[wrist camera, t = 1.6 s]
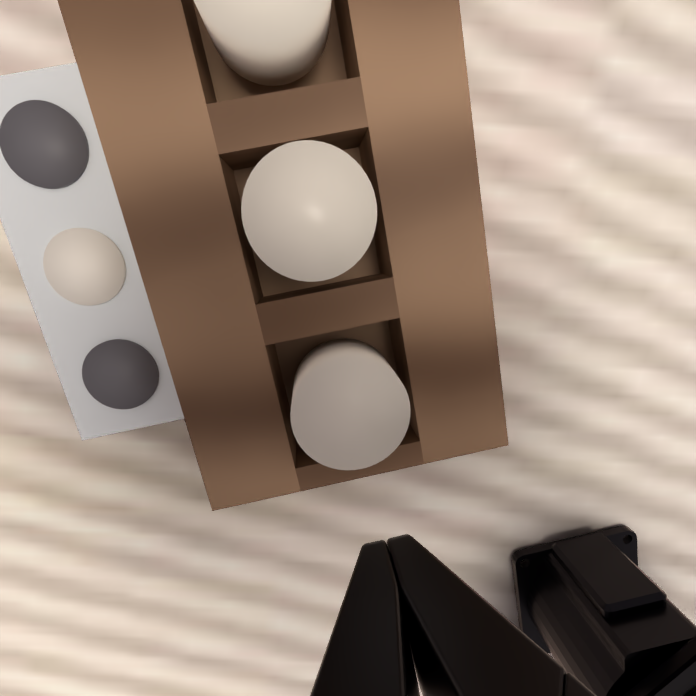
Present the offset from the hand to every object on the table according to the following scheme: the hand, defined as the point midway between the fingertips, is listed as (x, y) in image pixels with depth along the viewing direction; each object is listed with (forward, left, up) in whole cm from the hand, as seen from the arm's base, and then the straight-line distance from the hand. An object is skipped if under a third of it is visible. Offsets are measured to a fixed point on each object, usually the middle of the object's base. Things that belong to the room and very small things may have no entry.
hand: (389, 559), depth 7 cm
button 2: (0, 0, -10) cm, 10 cm away
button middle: (+6, 0, -10) cm, 12 cm away
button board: (+7, 0, -12) cm, 14 cm away
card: (+7, +9, -12) cm, 16 cm away
